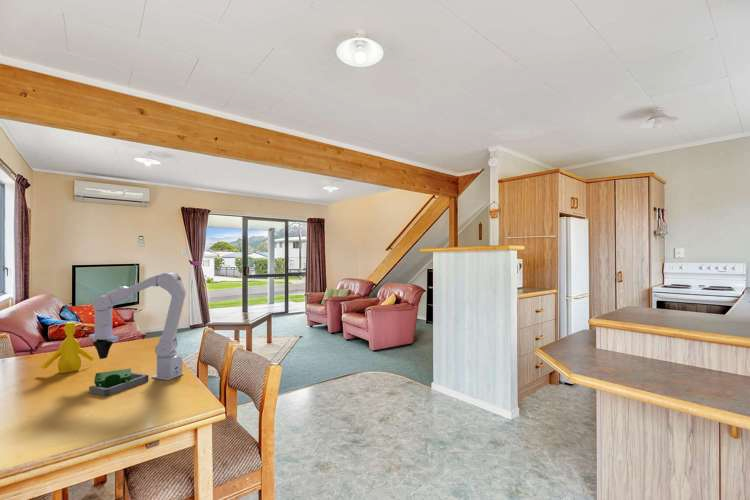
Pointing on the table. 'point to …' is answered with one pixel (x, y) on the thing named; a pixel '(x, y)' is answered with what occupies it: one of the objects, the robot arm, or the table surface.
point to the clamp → (112, 378)
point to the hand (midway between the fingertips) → (103, 358)
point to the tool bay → (119, 385)
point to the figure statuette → (68, 352)
